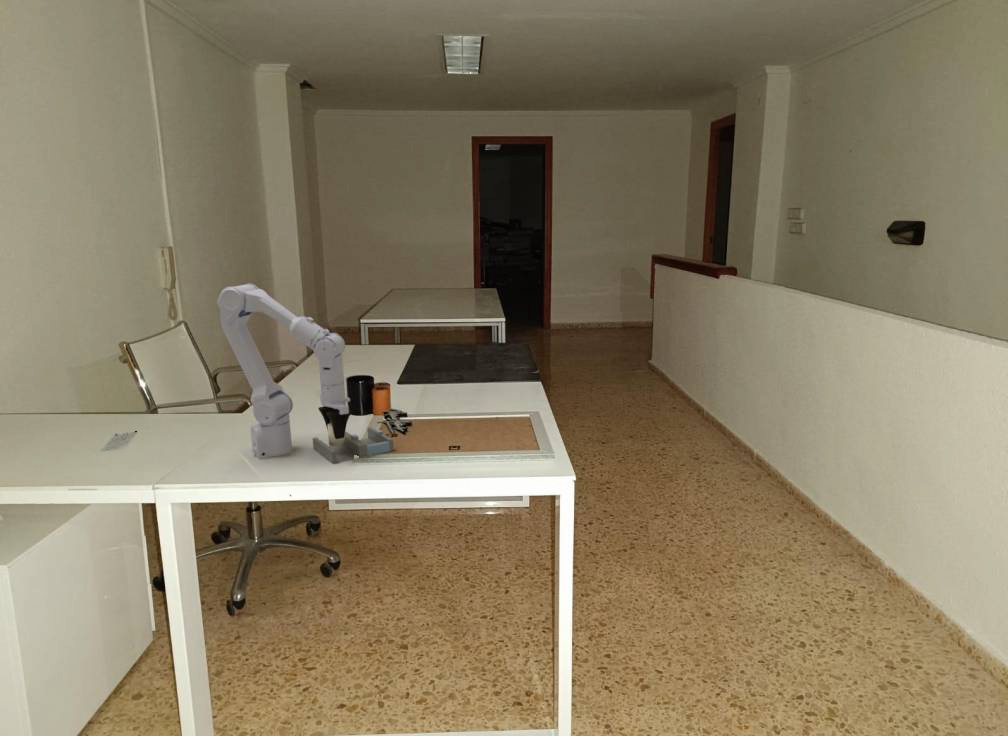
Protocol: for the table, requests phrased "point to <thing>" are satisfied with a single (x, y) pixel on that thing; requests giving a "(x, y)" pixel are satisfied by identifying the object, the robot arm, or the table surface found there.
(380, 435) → the grey walled tray piece
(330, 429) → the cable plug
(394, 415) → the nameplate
